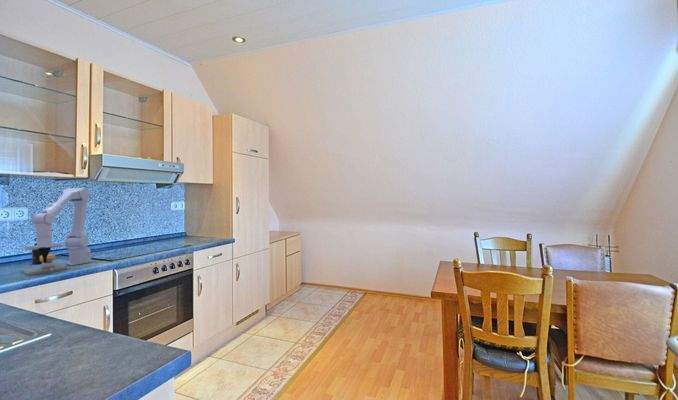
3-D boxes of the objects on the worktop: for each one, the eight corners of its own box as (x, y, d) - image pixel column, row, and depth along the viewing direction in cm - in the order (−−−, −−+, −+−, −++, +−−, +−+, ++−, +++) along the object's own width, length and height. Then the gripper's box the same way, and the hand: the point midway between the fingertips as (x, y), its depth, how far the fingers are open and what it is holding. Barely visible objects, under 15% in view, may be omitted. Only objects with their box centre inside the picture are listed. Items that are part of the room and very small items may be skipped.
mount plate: (59, 266, 173) (59, 257, 173) (67, 269, 165) (66, 260, 165) (21, 272, 161) (21, 262, 161) (27, 276, 153) (27, 266, 152)
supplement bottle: (29, 265, 177) (28, 244, 177) (37, 262, 183) (36, 242, 183) (43, 264, 179) (42, 243, 178) (51, 261, 185) (50, 241, 185)
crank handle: (39, 260, 164) (39, 255, 164) (54, 258, 169) (54, 253, 169) (41, 264, 155) (41, 259, 155) (57, 262, 159) (57, 257, 159)
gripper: (24, 238, 150) (25, 266, 150) (64, 235, 161) (64, 261, 161) (23, 237, 155) (24, 264, 155) (62, 234, 166) (63, 259, 166)
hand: (45, 262), depth 158 cm, fingers closed
